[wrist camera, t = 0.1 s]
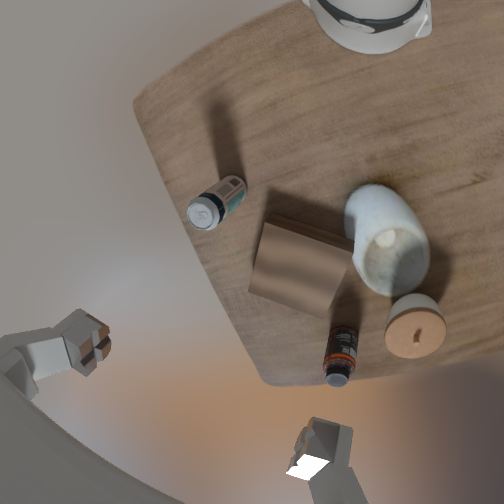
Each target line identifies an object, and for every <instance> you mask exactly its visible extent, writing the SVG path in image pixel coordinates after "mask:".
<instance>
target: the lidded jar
mask: <svg viewBox="0 0 504 504" xmlns="http://www.w3.org/2000/svg"><path fill="white" fill-rule="evenodd" d="M446 332H447V328H446V323H445V320H444V317H443V314H442V311H441V309H440V307H439V306H438V304H437V303H436V302H435V301H434V300H433V299H432V298H431V297H429V296H427V295H424V294H420V293H412V294H408V295H405V296H403V297H401V298H400V299H399V300H397V301H396V302H395V303H394V304H393V306H392V307H391V309H390V311H389V313H388V316H387V319H386V326H385V335H384V339H385V344H386V346H387V348H388V349H389V350H390V351H391V352H392V353H393V354H395V355H397V356H399V357H403V358H419V357H423V356H426V355H428V354H430V353H432V352H433V351H435V350H436V349H437V348H438V347H439V346H440V345H441V344H442V343H443V341H444V339H445V337H446Z"/></svg>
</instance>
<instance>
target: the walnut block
mask: <svg viewBox="0 0 504 504" xmlns="http://www.w3.org/2000/svg"><path fill="white" fill-rule="evenodd" d="M354 242H355V241H352V240H350V239H347V238H344V237H341V236H339V235H336V234H333V233H330V232H328V231H325V230H322V229H319V228H316V227H313V226H311V225H308V224H305V223H302V222H299V221H296V220H293V219H290V218H287V217H284V216H282V215H279V214H276V213H273V212H272V213H271V215H270V216H269V217H268V219H267V220H266V221H265V224H264V228H263V232H262V236H261V240H260V244H259V248H258V253H257V257H256V261H255V265H254V269H253V273H252V277H251V281H250V285H249V290H248V292H250V293H253V294H256V295H258V296H261V297H264V298H266V299H269V300H272V301H274V302H277V303H280V304H282V305H285V306H288V307H291V308H293V309H296V310H299V311H302V312H304V313H307V314H310V315H313V316H315V317H318V318H321V319H324V316H325V314H326V312H327V310H328V308H329V306H330V304H331V302H332V300H333V298H334V296H335V294H336V291H337V289H338V287H339V285H340V283H341V280H342V278H343V276H344V274H345V272H346V269H347V267H348V265H349V263H350V260H351V258H352V256H353V253H354Z"/></svg>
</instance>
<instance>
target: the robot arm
mask: <svg viewBox="0 0 504 504" xmlns="http://www.w3.org/2000/svg"><path fill="white" fill-rule="evenodd" d="M301 1H302V2H303V3H304V4H305V5H306V6H308V7H309V8H310V9H311V10H312V11H313V12H314V14H315V16H316V18H317V20H318V22H319V24H320V26H321V27H322V29H323V30H324V31H325V32H326V33H327V34H328V35H329V36H330V37H331V38H332V39H333V40H334V41H336V42H337V43H339V44H340V45H342V46H344V47H346V48H348V49H351V50H353V51H356V52H360V53H366V54H383V53H388V52H391V51H394V50H396V49H398V48H400V47H402V46H403V45H404V44H406V43H407V42H408V41H410V40H412V39H417V38H423V37H427V36H429V35H430V33H431V31H432V19H431V2H430V0H301ZM425 22H426V23H425ZM109 333H110V330H109V326H107V325H106V324H104V323H102V322H101V321H99V320H98V319H96V318H94V317H93V316H91V315H90V314H88V313H87V312H85V311H83V310H82V309H76V310H75V311H74V312H72V313H71V314H70V315H69V316H67V317H66V318H65V319H64V320H62V321H61V322H60V323H59V324H57V325H56V326H55V327H54V328H50V327H48V328H43V329H38V330H32V331H26V332H21V333H15V334H9V335H4V336H3V337H2V338H0V504H185V503H183V502H181V501H179V500H177V499H175V498H172V497H170V496H168V495H166V494H164V493H162V492H160V491H158V490H156V489H154V488H153V487H151V486H149V485H147V484H145V483H143V482H141V481H140V480H138V479H136V478H134V477H133V476H131V475H129V474H127V473H126V472H124V471H122V470H121V469H119V468H118V467H116V466H114V465H113V464H111V463H109V462H108V461H106V460H105V459H104V458H102V457H101V456H99V455H98V454H96V453H95V452H93V451H92V450H90V449H89V448H88V447H86V446H85V445H83V444H82V443H80V442H79V441H78V440H77V439H75V438H74V437H73V436H71V435H70V434H69V433H67V432H66V431H65V430H64V429H62V428H61V427H60V426H59V425H57V424H56V423H55V422H54V421H52V419H50V418H49V417H48V416H47V415H46V414H45V413H43V412H42V411H41V410H40V409H39V408H38V407H36V405H34V404H33V403H32V402H31V400H32V399H33V398H34V397H35V395H36V394H37V393H38V387H37V385H36V383H35V380H38V379H41V378H44V377H47V376H50V375H53V374H56V373H59V372H62V371H65V370H67V369H70V368H74V369H75V370H77V371H78V372H80V373H81V374H83V375H84V376H86V377H87V376H88V375H89V374H90V373H91V372H92V371H93V370H94V369H95V368H96V367H97V362H99V361H103V360H104V359H105V358H106V357H107V356H108V354H109V352H110V350H111V340H110V338H109V336H108V334H109ZM352 436H353V429H352V428H351V427H348V426H344V425H340V424H338V423H334V422H331V421H327V420H323V419H320V418H316V417H312V418H311V419H310V420H309V422H308V426H306V427H304V428H303V429H302V431H301V433H300V435H299V436H298V439H297V441H296V444H295V447H294V449H295V452H296V454H295V455H294V456H293V457H292V458H291V460H290V464H289V467H288V470H287V474H290V475H294V476H297V477H300V478H304V479H307V480H308V484H309V487H310V490H311V494H312V497H313V501H314V504H368V501H367V499H366V497H365V495H364V493H363V491H362V488H361V486H360V484H359V482H358V480H357V478H356V476H355V474H354V471H353V469H352V467H348V464H349V457H350V450H351V443H352Z"/></svg>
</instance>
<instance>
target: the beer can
mask: <svg viewBox="0 0 504 504" xmlns="http://www.w3.org/2000/svg"><path fill="white" fill-rule="evenodd" d="M246 195H247V187H246V184H245V183H244V181H243V180H242V179H241V178H239V177H237V176H234V175H230V176H226V177H225V178H223V179H222V180H221V181H220V182H218V183H217V184H215V185H214V186H212V187H211V188H209V189H208V190H206V191H205V192H204V193H202V194H201V195H199V196H198V197H196V198H194V199H193V200H191V202H190V203H189V205H188V211H187V217H188V220H189V223H190V224H192V225H193V226H194V227H195V228H196V229H200V230H211V229H213V228H215V227H216V226H217V225H218V224H219V223H220V222H221V221H222V220H223V219H224V218H225V217H226V216H227V215H228V214H229V213H230V212H231V211H232V210H233V209H234V208H235V207H237V206H238V205H239V204H240V203H241V202H242V201H243V200H244V199H245V197H246Z"/></svg>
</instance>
